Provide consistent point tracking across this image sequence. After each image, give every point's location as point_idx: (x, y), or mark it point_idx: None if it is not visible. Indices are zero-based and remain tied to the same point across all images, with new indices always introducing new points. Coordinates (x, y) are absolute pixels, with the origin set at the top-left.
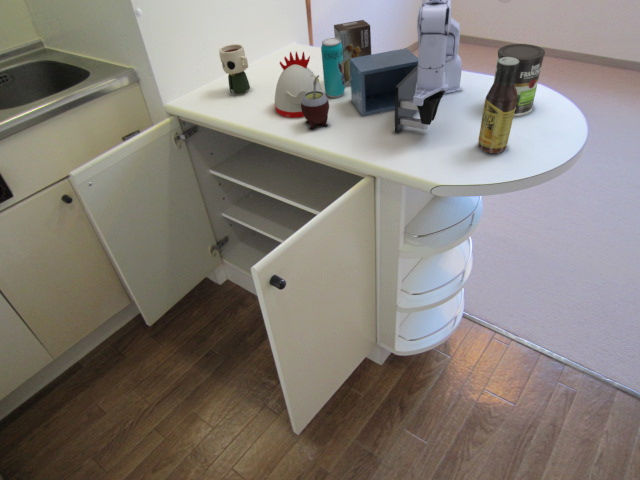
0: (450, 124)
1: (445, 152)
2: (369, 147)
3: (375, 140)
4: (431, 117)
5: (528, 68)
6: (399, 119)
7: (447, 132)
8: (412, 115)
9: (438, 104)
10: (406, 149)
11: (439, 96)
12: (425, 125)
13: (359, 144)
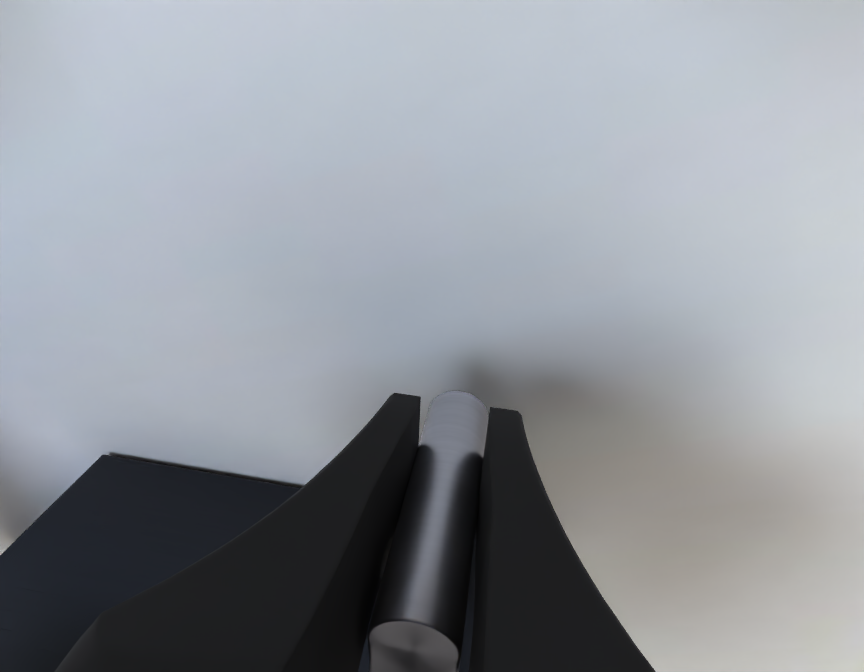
0: (227, 213)
1: (797, 117)
2: (724, 618)
3: (627, 601)
4: (534, 470)
5: None
6: (469, 600)
7: (373, 203)
8: (253, 482)
9: (316, 504)
10: (742, 443)
11: (301, 665)
12: (481, 426)
13: (689, 654)
